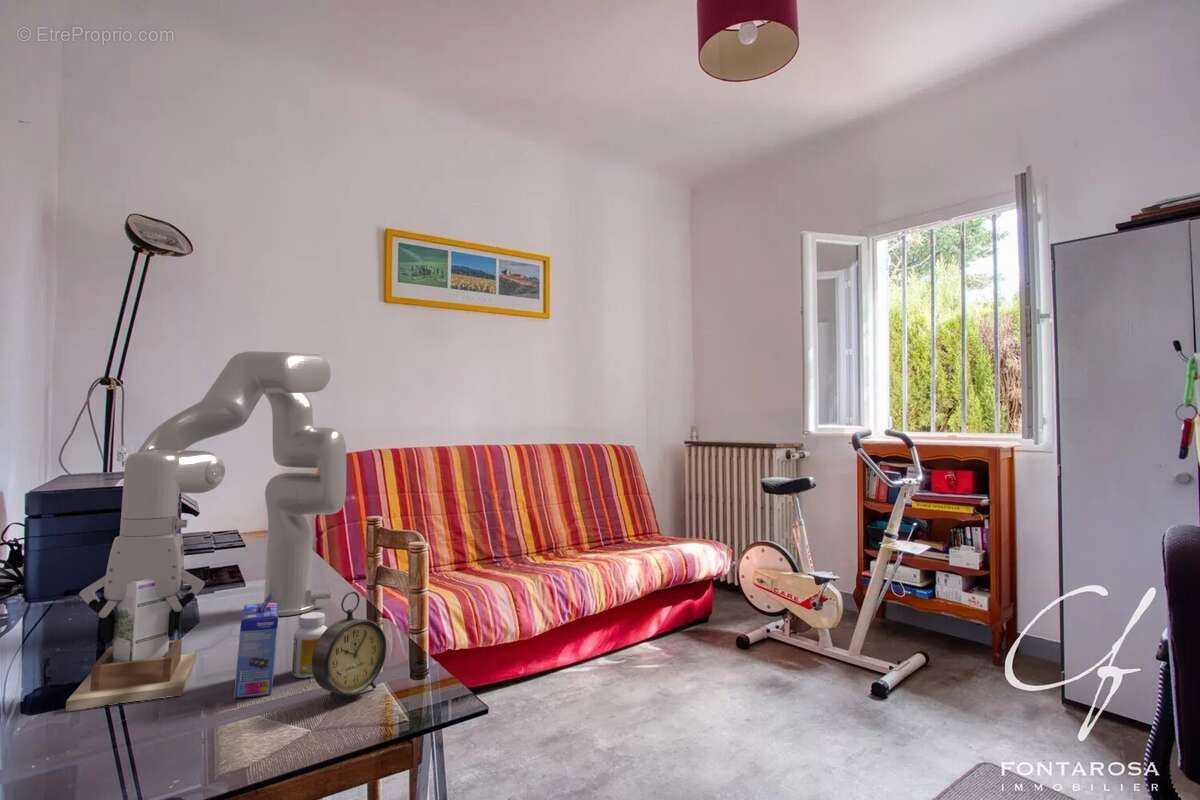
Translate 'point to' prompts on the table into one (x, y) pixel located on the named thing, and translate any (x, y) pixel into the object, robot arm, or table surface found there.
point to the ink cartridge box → (257, 649)
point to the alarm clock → (349, 655)
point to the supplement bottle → (306, 643)
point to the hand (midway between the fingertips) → (141, 637)
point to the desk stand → (133, 679)
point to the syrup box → (140, 624)
